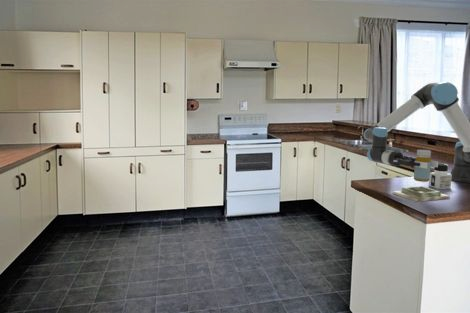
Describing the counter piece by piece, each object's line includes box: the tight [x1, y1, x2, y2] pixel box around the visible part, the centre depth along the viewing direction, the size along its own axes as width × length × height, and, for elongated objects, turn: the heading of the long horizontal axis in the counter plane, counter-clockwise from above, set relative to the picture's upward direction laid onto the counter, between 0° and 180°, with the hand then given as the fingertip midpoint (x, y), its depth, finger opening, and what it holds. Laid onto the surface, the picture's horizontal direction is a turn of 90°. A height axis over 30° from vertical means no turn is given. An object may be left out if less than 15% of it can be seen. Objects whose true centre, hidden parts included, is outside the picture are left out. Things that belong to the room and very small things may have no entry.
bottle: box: [413, 149, 432, 183], centre depth 185 cm, size 7×7×15 cm
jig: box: [392, 185, 451, 203], centre depth 187 cm, size 20×16×3 cm
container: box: [428, 162, 452, 190], centre depth 205 cm, size 8×8×13 cm
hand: (432, 165), depth 181 cm, fingers closed on bottle, 7 cm apart
